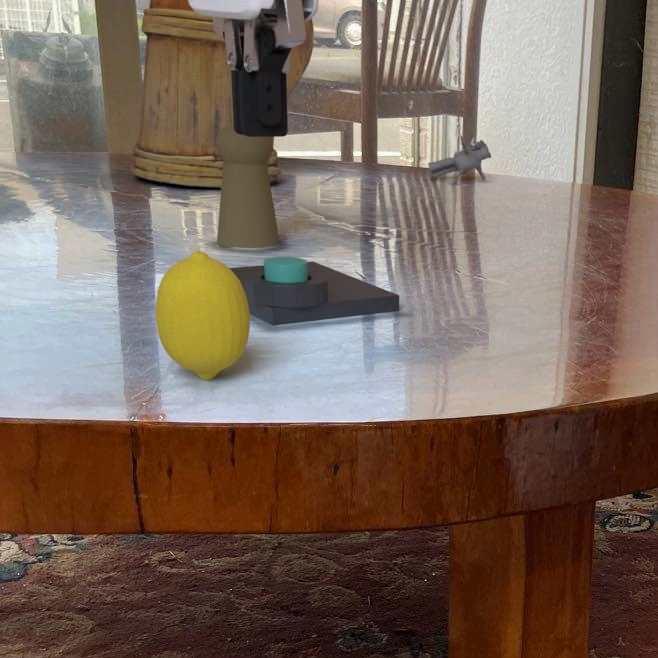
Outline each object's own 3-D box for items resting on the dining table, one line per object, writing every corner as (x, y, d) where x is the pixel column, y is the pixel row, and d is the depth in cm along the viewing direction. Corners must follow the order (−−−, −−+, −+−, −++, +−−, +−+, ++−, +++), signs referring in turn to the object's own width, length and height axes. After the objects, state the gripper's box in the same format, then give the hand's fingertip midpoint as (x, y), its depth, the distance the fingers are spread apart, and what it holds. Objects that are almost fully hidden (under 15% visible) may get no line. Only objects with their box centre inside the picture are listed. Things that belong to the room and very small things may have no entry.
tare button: (277, 287, 82) (276, 266, 82) (257, 278, 84) (256, 258, 84) (315, 284, 84) (315, 263, 84) (295, 275, 86) (295, 255, 86)
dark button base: (269, 329, 82) (267, 288, 80) (188, 288, 92) (185, 251, 90) (403, 314, 88) (403, 276, 87) (313, 277, 98) (313, 242, 97)
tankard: (140, 168, 153) (123, -36, 142) (315, 175, 158) (311, -22, 147) (123, 187, 137) (103, -41, 126) (318, 194, 142) (314, -25, 131)
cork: (204, 244, 108) (197, 124, 104) (238, 235, 114) (233, 120, 109) (259, 251, 107) (254, 130, 102) (291, 242, 112) (288, 126, 107)
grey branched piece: (441, 175, 168) (497, 157, 166) (445, 208, 166) (502, 190, 164) (415, 133, 159) (474, 114, 157) (419, 168, 157) (479, 149, 155)
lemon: (144, 388, 68) (132, 254, 64) (186, 364, 73) (177, 239, 69) (230, 398, 67) (222, 264, 64) (266, 373, 72) (261, 247, 68)
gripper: (140, -184, 71) (162, 123, 78) (250, -205, 61) (262, 149, 68) (249, -165, 75) (259, 123, 83) (368, -182, 65) (367, 148, 73)
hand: (261, 134), depth 76 cm, fingers closed
